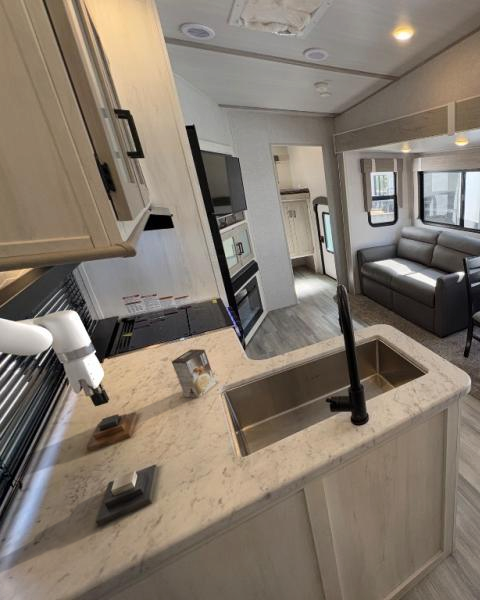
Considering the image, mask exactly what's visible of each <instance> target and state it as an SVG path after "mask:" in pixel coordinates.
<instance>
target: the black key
mask: <svg viewBox="0 0 480 600" xmlns="http://www.w3.org/2000/svg"><path fill="white" fill-rule="evenodd" d="M119 416H120V415H119V413H117V414H113V415H110V416H107V417H104V418H102V419H101V420H100V422H101V423H100V425H99V427H100V429H101V431H102V430H105V429H109V428H112V427H115V426H118V424H119V421H120V417H119Z"/></svg>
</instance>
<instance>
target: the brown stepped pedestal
mask: <svg viewBox="0 0 480 600" xmlns="http://www.w3.org/2000/svg"><path fill="white" fill-rule="evenodd" d="M119 417H120V421H119V424H118V426H115V427H112V428H109V429H105V430H102V431H101V429H100V427H99V425H100V423H101V421H99V423H97V424H96V427H95V429H94V431H93V432H92V433H93V434H92V435H91V437H90V439H89V441H88V443H87V446H86V450H87V451H88V453H91V452H92V451H95V450H98V449H101V448H104V447H107V446H110V445H112V444H117V443H118V442H122V441H124V440H127V439H130V438H131V437H132V434H133V432H134V428H135V425H136V422H137V419H138V414H137V411H134V412H131V413H124V414H122V415H119Z"/></svg>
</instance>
